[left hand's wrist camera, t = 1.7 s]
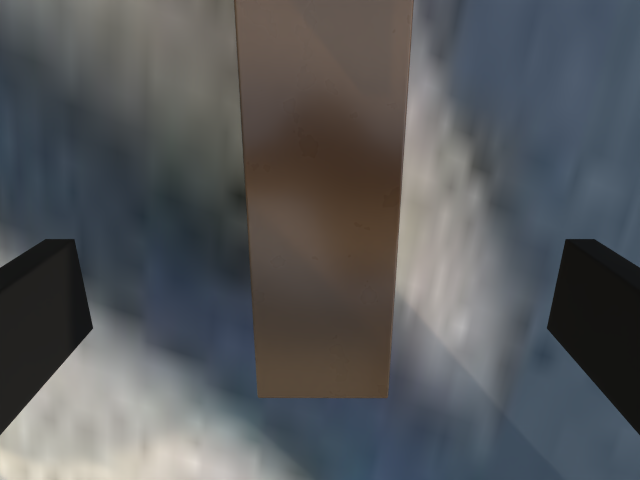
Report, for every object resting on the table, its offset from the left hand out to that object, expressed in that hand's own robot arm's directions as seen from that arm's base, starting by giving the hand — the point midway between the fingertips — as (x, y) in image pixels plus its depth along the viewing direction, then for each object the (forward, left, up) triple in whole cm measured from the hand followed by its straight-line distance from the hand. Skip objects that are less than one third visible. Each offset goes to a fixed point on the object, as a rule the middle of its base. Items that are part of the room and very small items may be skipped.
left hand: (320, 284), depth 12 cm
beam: (+22, 0, -10) cm, 24 cm away
